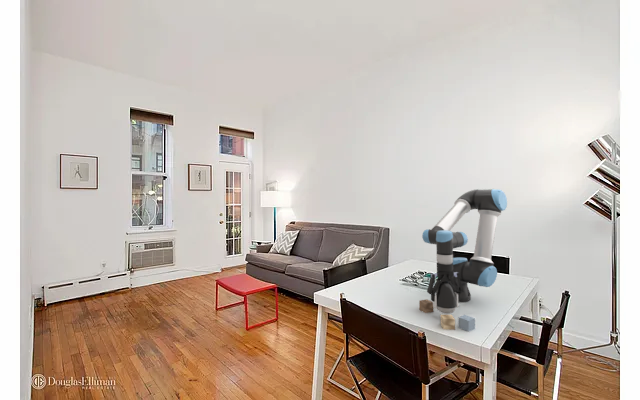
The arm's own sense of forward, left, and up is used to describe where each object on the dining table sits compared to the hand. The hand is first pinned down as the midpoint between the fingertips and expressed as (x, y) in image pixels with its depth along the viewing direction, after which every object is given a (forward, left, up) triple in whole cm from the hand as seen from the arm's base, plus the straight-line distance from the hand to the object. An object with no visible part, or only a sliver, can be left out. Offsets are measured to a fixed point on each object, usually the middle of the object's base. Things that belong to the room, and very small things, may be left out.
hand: (445, 306), depth 156 cm
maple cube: (+3, +9, -6) cm, 12 cm away
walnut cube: (+5, -11, -6) cm, 13 cm away
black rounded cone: (0, 0, -3) cm, 3 cm away
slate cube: (-5, +11, -6) cm, 14 cm away
